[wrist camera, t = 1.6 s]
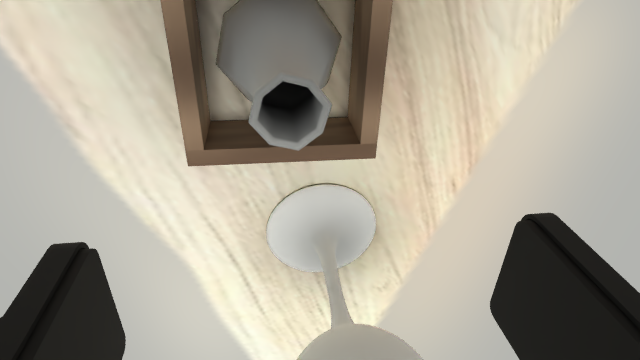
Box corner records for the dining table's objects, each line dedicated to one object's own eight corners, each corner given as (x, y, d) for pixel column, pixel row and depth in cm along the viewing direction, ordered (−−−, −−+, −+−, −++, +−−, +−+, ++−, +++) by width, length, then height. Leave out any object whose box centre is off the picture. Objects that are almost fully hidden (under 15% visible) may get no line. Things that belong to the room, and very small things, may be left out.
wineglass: (268, 273, 34) (282, 649, 16) (263, 185, 30) (275, 575, 12) (370, 266, 35) (485, 610, 18) (380, 180, 31) (551, 529, 13)
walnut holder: (168, -59, 21) (151, -56, 18) (376, -54, 22) (398, -50, 19) (196, 135, 27) (187, 166, 23) (361, 130, 28) (375, 158, 25)
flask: (361, 31, 25) (415, 87, 16) (295, 125, 27) (313, 214, 19) (256, -47, 22) (257, -27, 14) (194, 67, 25) (163, 141, 16)
